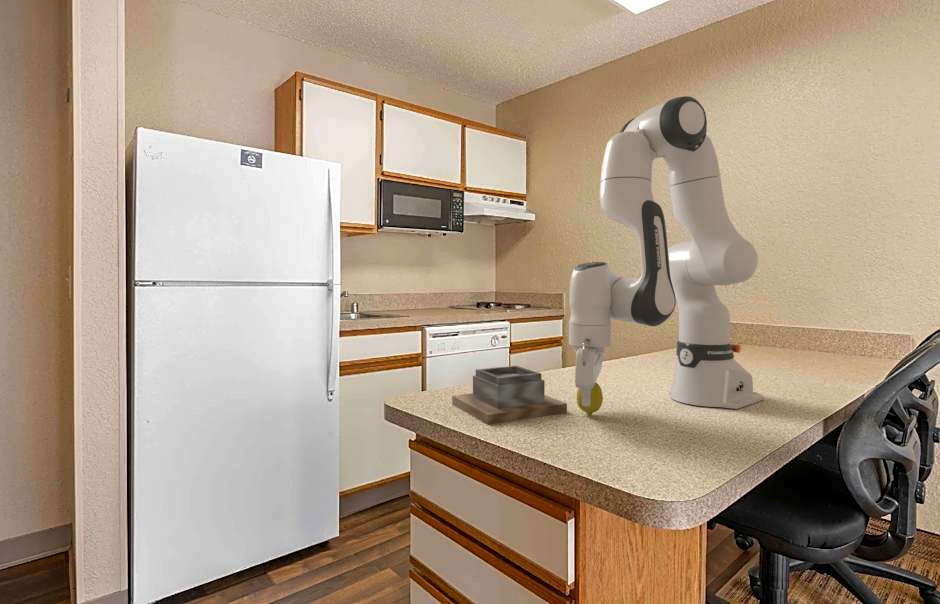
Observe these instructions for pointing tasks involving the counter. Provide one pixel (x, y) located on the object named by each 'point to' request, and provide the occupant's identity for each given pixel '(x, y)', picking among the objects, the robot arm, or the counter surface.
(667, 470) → the counter surface
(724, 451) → the counter surface
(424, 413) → the counter surface
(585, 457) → the counter surface
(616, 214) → the robot arm
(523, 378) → the plinth
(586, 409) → the lemon
